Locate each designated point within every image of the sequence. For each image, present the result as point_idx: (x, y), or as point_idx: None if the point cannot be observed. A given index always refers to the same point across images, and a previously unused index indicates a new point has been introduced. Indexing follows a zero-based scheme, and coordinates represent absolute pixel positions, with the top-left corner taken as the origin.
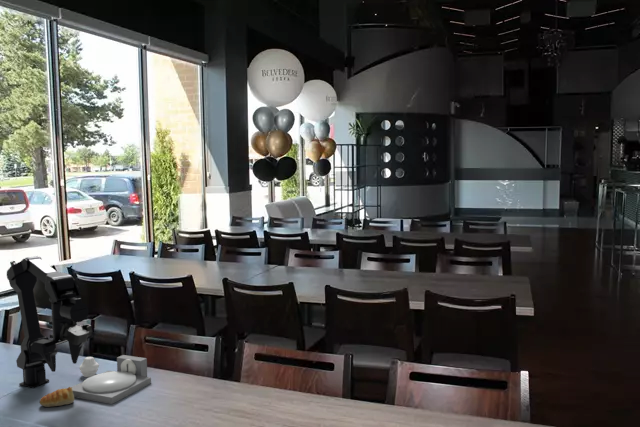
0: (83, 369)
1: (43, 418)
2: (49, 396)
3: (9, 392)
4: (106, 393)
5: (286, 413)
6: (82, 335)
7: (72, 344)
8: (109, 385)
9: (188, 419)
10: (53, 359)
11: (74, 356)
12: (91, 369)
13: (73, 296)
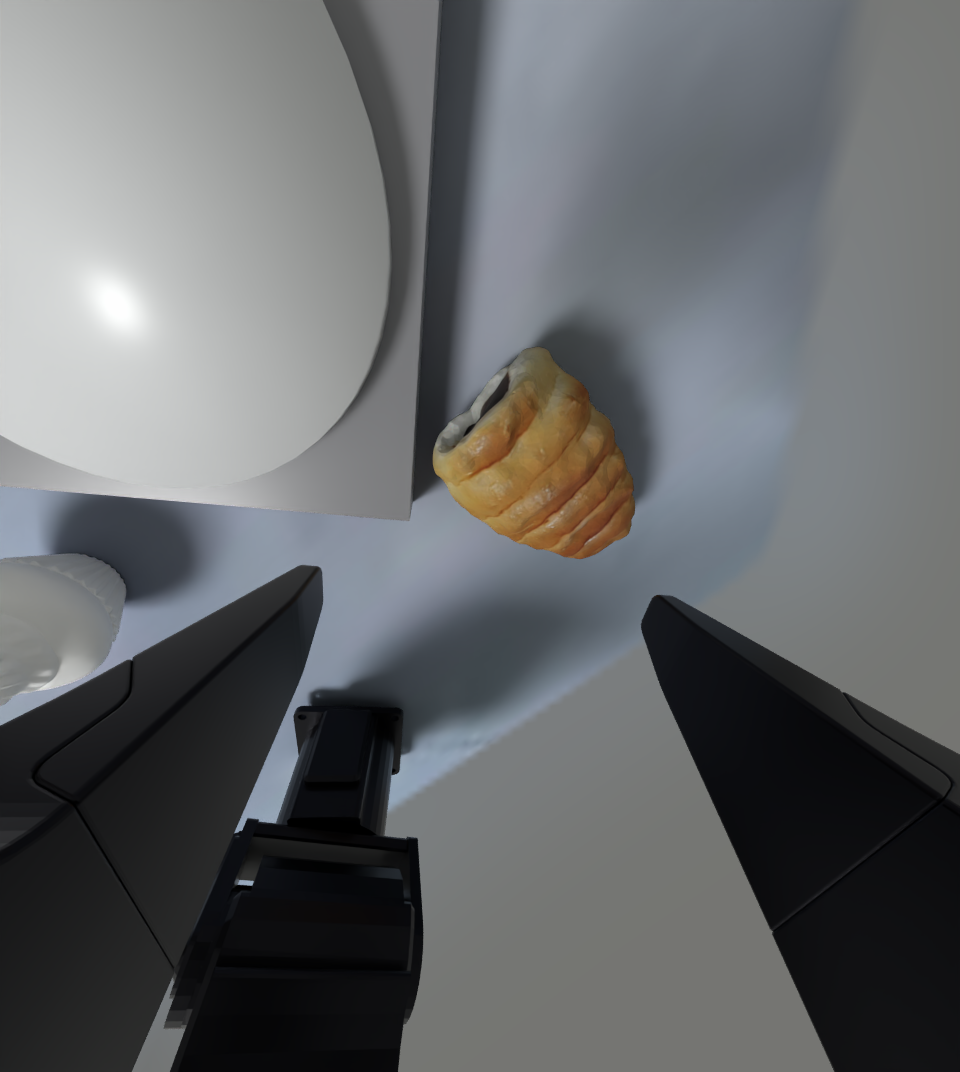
0: (97, 625)
1: (755, 390)
2: (611, 504)
3: (461, 749)
4: (359, 14)
5: None
6: None
7: (81, 1041)
8: (206, 65)
9: None
10: (907, 735)
11: (277, 658)
12: (43, 578)
13: None
